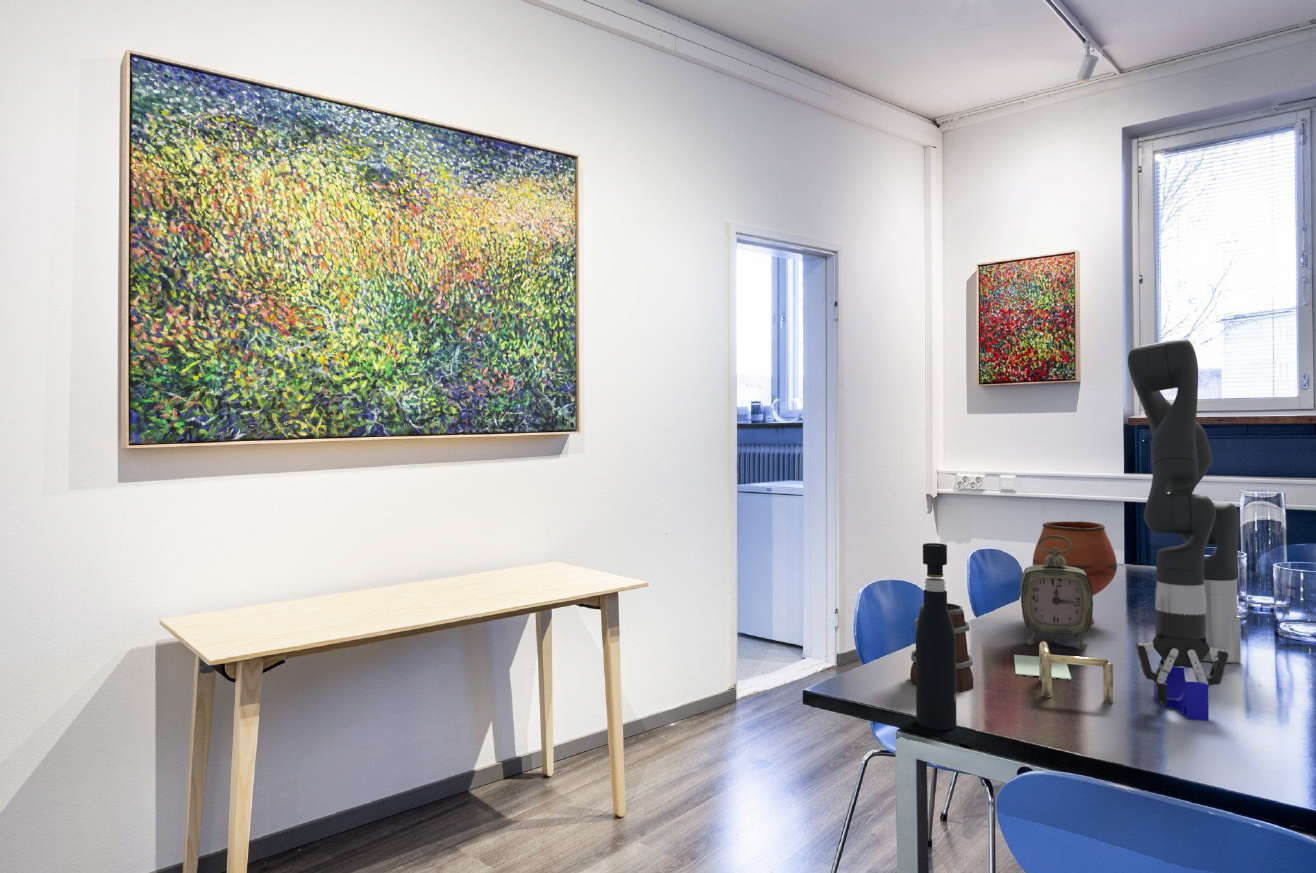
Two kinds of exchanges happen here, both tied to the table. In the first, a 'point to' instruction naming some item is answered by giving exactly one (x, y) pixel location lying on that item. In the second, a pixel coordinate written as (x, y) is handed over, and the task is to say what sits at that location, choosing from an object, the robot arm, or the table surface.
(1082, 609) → the tabletop clock
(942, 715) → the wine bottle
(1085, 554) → the terracotta pot
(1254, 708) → the table surface
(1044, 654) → the wire track
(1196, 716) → the cable clip
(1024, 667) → the pad
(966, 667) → the mug
